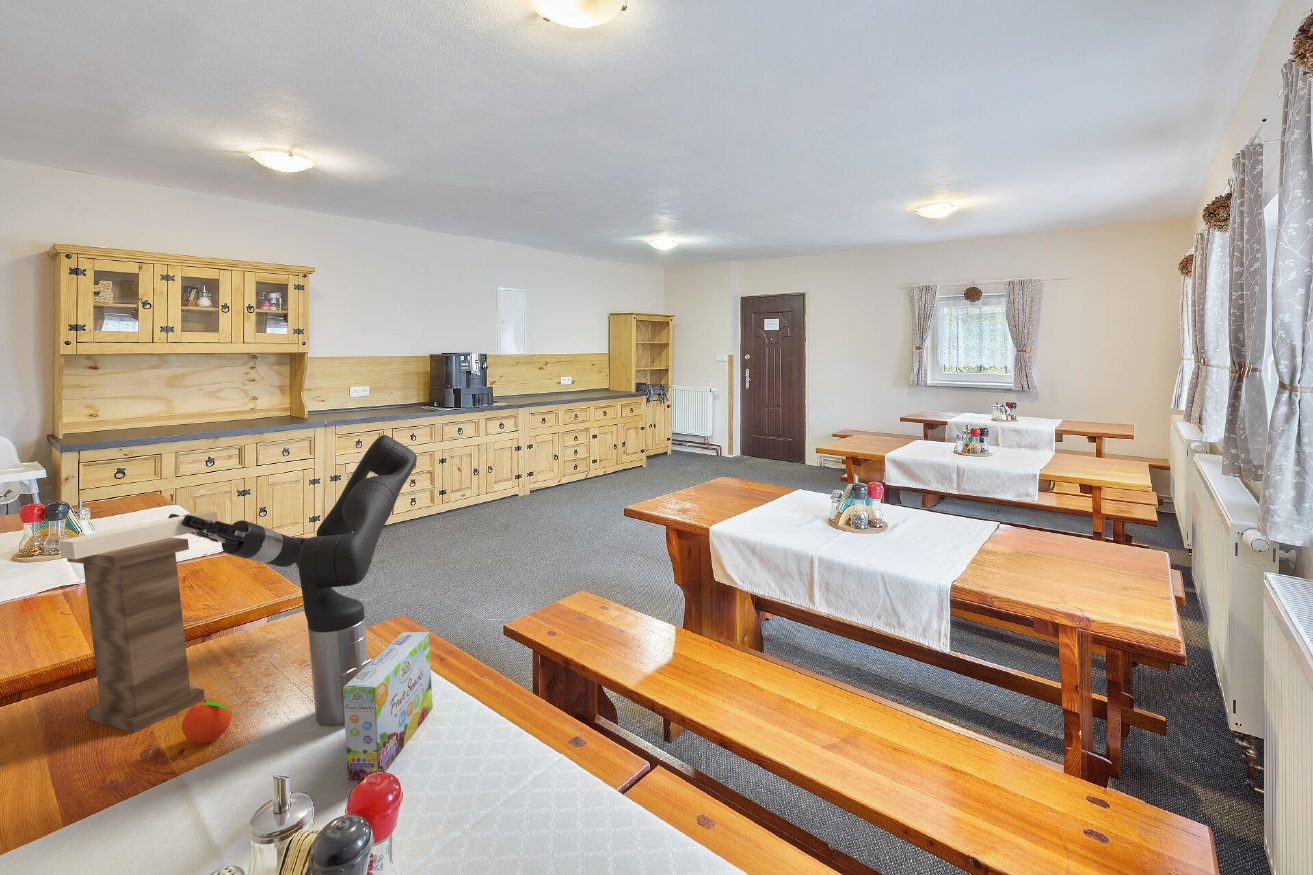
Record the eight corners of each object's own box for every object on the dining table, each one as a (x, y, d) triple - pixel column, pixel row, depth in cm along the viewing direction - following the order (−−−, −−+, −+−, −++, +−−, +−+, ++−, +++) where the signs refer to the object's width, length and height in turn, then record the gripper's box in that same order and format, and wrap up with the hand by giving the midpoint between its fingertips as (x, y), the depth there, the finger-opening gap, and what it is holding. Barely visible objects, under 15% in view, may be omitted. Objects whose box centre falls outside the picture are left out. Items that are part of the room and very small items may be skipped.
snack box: (382, 781, 94) (375, 686, 92) (346, 782, 94) (338, 687, 92) (435, 707, 115) (430, 629, 113) (405, 708, 115) (400, 630, 114)
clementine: (248, 729, 109) (245, 690, 109) (217, 752, 102) (213, 711, 102) (207, 728, 110) (203, 689, 109) (173, 751, 103) (168, 710, 103)
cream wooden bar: (218, 526, 128) (216, 511, 127) (75, 559, 105) (73, 541, 105) (204, 525, 129) (203, 510, 129) (61, 557, 107) (58, 539, 107)
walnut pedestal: (204, 699, 120) (187, 539, 117) (134, 732, 109) (113, 556, 106) (159, 688, 126) (141, 534, 123) (87, 719, 114) (66, 550, 111)
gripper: (238, 524, 141) (162, 499, 126) (282, 527, 136) (208, 502, 121) (224, 556, 138) (145, 535, 123) (269, 561, 133) (192, 539, 118)
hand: (177, 519), depth 122 cm, fingers closed on cream wooden bar, 4 cm apart
